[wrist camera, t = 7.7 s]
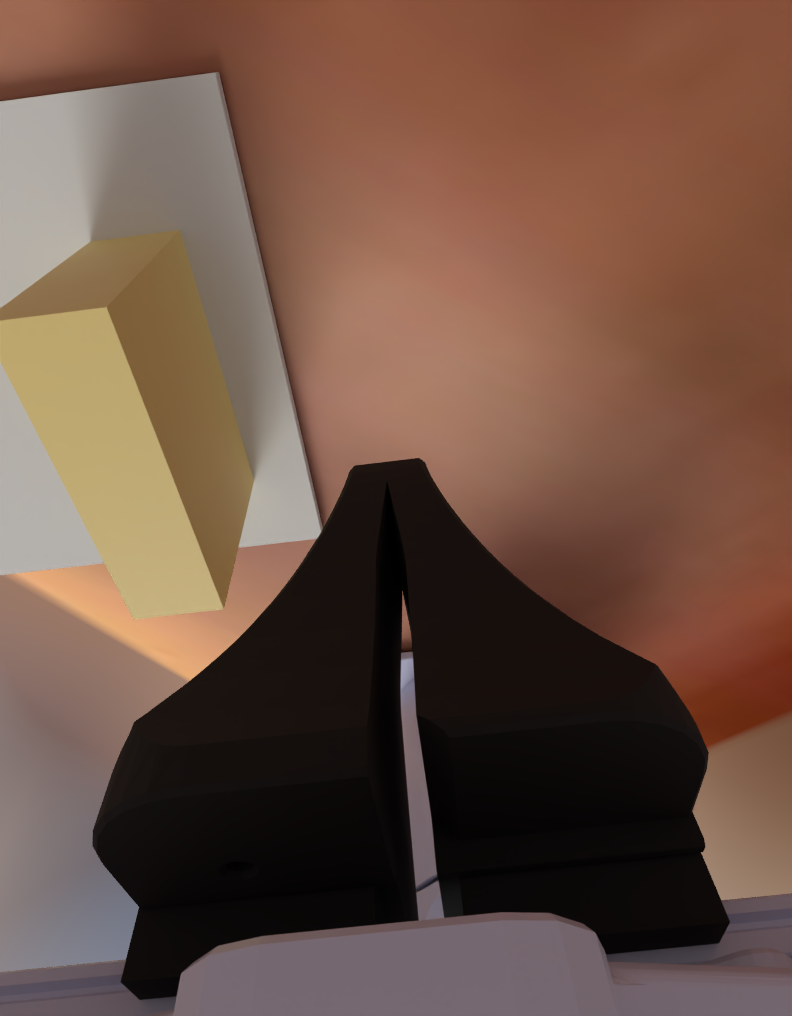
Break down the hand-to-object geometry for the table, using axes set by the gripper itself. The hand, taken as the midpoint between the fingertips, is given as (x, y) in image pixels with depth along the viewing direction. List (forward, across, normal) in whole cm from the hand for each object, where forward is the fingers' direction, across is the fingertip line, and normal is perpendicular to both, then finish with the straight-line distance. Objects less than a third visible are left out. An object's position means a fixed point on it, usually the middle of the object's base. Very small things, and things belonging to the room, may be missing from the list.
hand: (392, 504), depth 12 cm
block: (+8, +6, 0) cm, 10 cm away
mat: (+9, +9, 0) cm, 12 cm away
